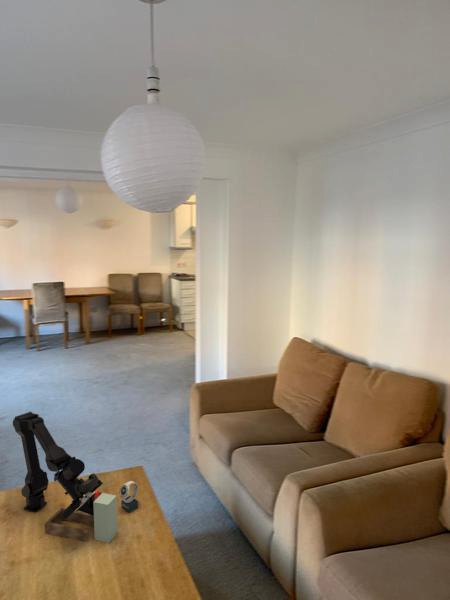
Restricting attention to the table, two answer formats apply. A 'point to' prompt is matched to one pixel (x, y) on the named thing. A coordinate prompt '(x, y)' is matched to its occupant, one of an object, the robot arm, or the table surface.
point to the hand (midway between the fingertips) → (97, 515)
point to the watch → (129, 502)
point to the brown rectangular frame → (67, 531)
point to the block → (105, 517)
